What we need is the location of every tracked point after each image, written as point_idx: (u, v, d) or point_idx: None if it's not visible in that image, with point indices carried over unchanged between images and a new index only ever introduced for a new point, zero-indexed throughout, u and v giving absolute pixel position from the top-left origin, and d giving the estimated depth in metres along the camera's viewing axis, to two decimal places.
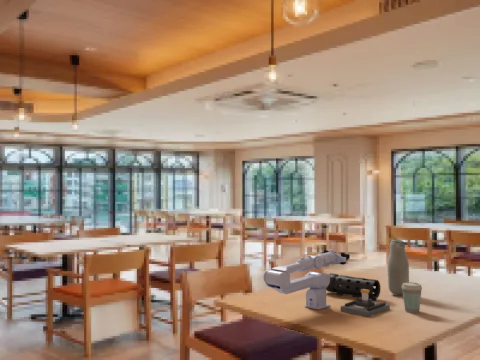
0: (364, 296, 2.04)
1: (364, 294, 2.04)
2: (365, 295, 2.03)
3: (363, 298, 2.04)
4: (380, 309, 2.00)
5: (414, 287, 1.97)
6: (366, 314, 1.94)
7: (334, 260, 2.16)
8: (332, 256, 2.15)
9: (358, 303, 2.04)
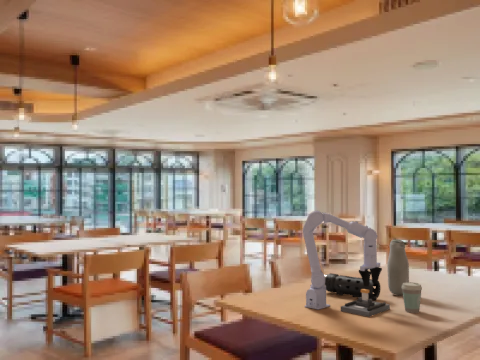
0: (364, 296, 2.04)
1: (364, 294, 2.04)
2: (365, 295, 2.03)
3: (363, 298, 2.04)
4: (380, 309, 2.00)
5: (414, 287, 1.97)
6: (366, 314, 1.94)
7: (365, 262, 2.07)
8: (370, 260, 2.05)
9: (358, 303, 2.04)
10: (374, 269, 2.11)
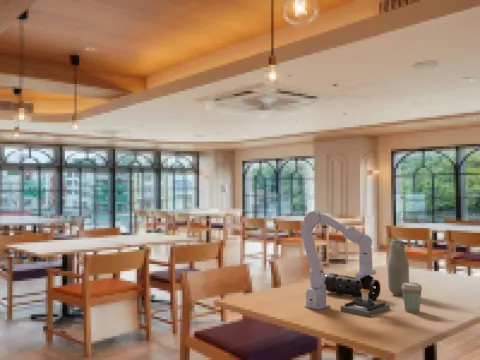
0: (364, 296, 2.04)
1: (364, 294, 2.04)
2: (365, 295, 2.03)
3: (363, 298, 2.04)
4: (380, 309, 2.00)
5: (414, 287, 1.97)
6: (366, 314, 1.94)
7: (361, 270, 2.04)
8: (365, 268, 2.03)
9: (358, 303, 2.04)
10: None
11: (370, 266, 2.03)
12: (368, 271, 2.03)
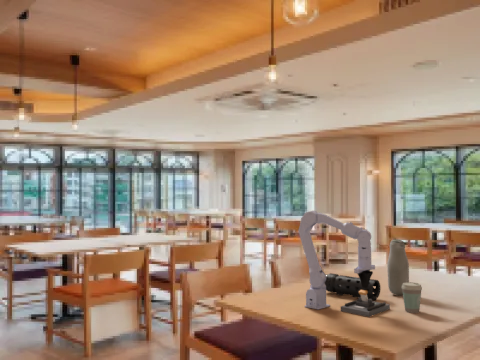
0: (363, 298, 2.03)
1: (363, 295, 2.03)
2: (364, 296, 2.03)
3: (363, 299, 2.04)
4: (380, 309, 2.00)
5: (414, 287, 1.97)
6: (366, 314, 1.94)
7: (360, 265, 2.03)
8: (364, 262, 2.02)
9: (358, 303, 2.04)
10: None
11: (369, 261, 2.02)
12: (367, 266, 2.02)
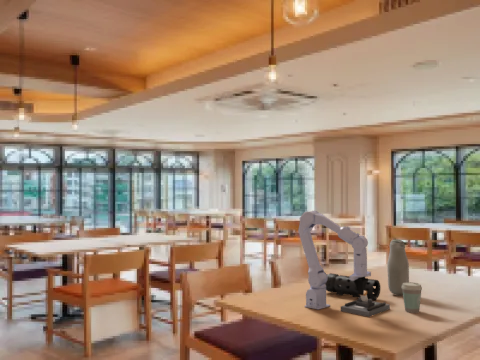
0: (363, 298, 2.03)
1: (363, 296, 2.03)
2: (364, 297, 2.03)
3: (362, 299, 2.04)
4: (380, 309, 2.00)
5: (414, 287, 1.97)
6: (366, 314, 1.94)
7: (355, 271, 2.01)
8: (359, 269, 1.99)
9: (358, 303, 2.04)
10: None
11: (365, 268, 2.00)
12: (362, 273, 1.99)
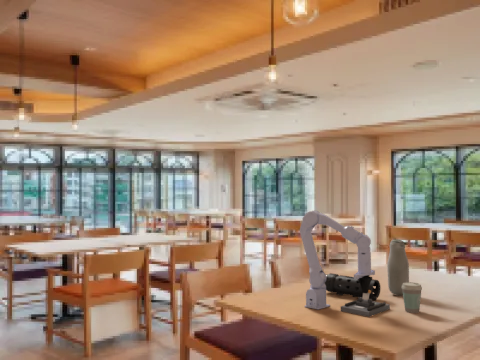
0: (365, 296, 2.04)
1: (365, 293, 2.04)
2: (366, 294, 2.04)
3: (363, 297, 2.04)
4: (380, 309, 2.00)
5: (414, 287, 1.97)
6: (366, 314, 1.94)
7: (359, 270, 2.03)
8: (364, 268, 2.02)
9: (358, 303, 2.04)
10: None
11: (369, 266, 2.02)
12: (367, 271, 2.01)
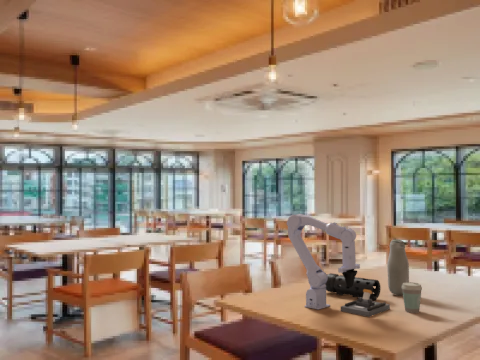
0: (365, 296, 2.04)
1: (366, 294, 2.05)
2: (367, 294, 2.04)
3: (364, 297, 2.05)
4: (380, 309, 2.00)
5: (414, 287, 1.97)
6: (366, 314, 1.94)
7: (344, 264, 2.03)
8: (348, 261, 2.02)
9: (358, 303, 2.04)
10: None
11: (353, 260, 2.02)
12: (351, 265, 2.02)
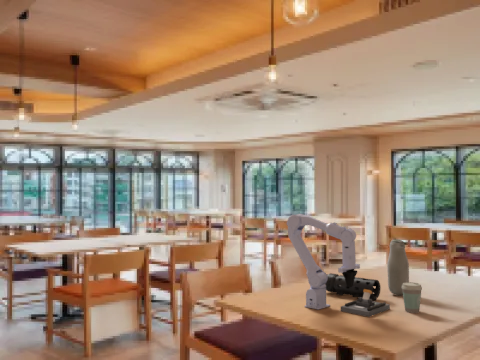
0: (366, 296, 2.04)
1: (366, 294, 2.05)
2: (367, 294, 2.04)
3: (364, 297, 2.05)
4: (380, 309, 2.00)
5: (414, 287, 1.97)
6: (366, 314, 1.94)
7: (344, 264, 2.03)
8: (348, 261, 2.02)
9: (358, 303, 2.04)
10: None
11: (353, 260, 2.02)
12: (351, 265, 2.02)
